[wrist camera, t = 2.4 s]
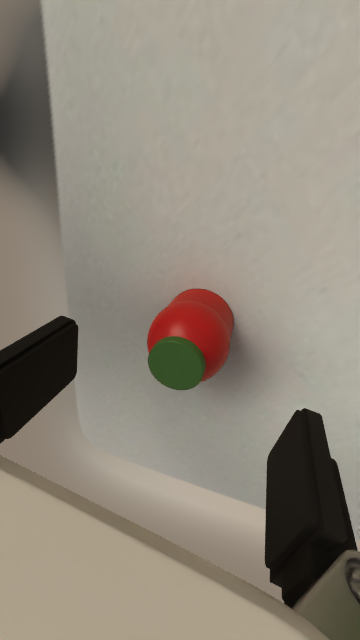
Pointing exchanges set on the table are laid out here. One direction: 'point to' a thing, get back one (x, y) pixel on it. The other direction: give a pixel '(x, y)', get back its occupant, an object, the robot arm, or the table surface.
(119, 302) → the table surface
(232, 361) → the table surface
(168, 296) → the table surface
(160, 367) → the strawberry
